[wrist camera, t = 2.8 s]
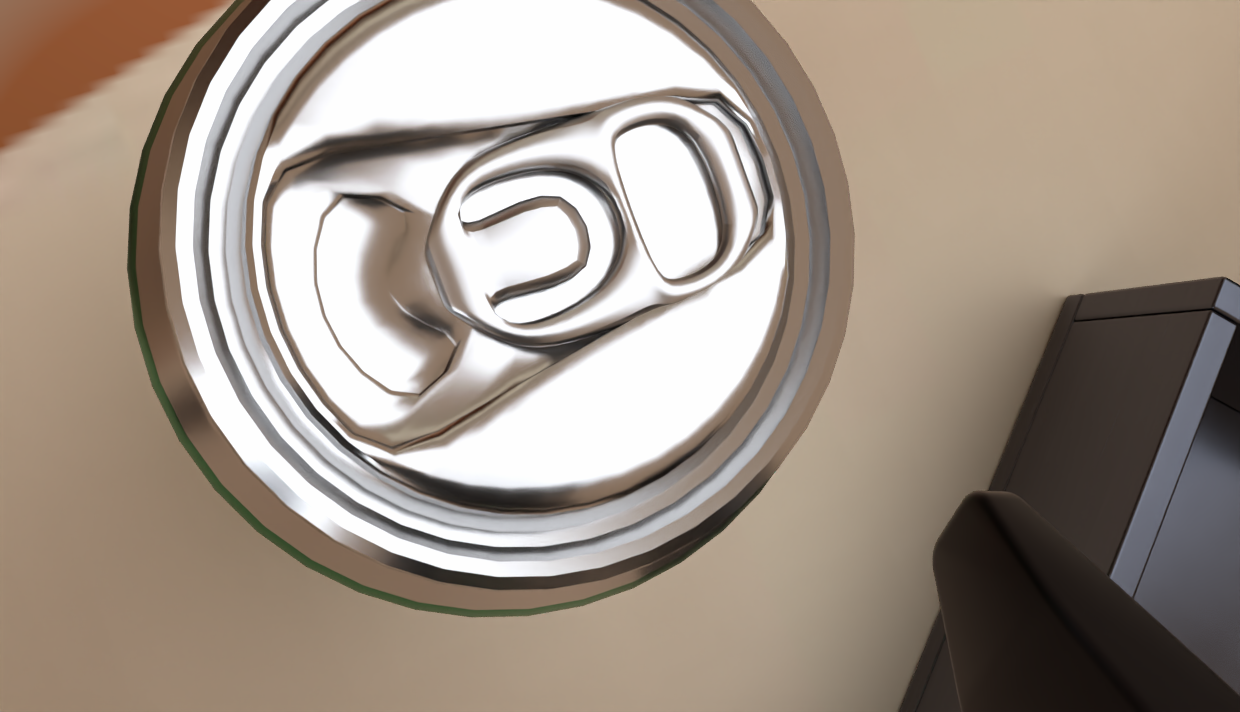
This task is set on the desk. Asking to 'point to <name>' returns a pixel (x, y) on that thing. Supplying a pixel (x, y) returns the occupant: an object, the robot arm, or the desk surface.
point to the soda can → (490, 284)
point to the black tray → (1135, 462)
